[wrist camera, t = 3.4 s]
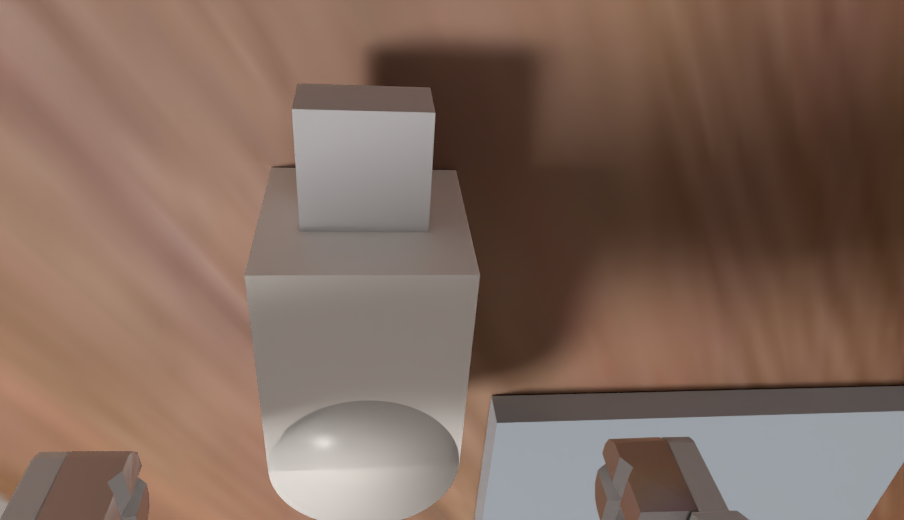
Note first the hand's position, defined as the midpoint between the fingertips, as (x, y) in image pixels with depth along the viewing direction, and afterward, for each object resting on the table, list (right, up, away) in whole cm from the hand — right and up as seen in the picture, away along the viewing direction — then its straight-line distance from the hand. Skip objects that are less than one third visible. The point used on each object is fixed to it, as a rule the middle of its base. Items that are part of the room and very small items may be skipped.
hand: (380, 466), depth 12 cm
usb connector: (-1, +4, +4) cm, 6 cm away
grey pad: (+8, -5, +12) cm, 15 cm away
